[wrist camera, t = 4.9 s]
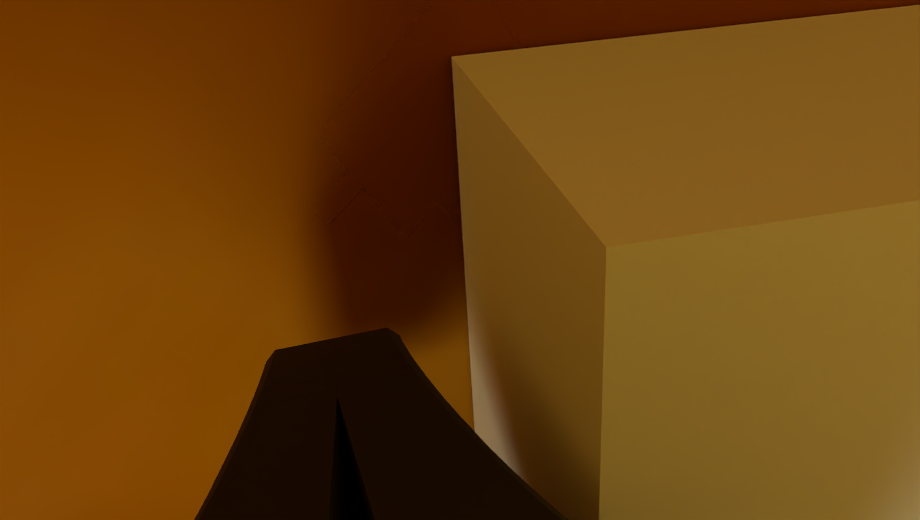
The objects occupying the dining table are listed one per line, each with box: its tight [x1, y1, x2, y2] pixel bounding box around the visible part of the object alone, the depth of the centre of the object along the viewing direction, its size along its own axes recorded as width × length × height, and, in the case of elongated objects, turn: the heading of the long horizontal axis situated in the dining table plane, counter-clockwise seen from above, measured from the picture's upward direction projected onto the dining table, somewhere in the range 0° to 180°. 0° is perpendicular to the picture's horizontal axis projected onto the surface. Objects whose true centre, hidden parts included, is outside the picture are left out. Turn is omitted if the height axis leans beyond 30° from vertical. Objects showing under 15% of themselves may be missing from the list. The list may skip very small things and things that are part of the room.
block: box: [452, 5, 920, 520], centre depth 9 cm, size 6×7×4 cm
